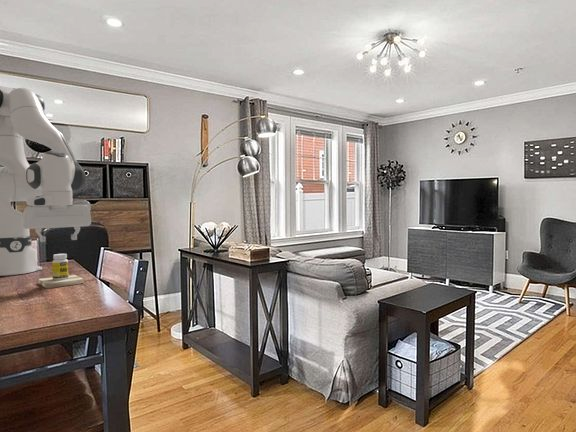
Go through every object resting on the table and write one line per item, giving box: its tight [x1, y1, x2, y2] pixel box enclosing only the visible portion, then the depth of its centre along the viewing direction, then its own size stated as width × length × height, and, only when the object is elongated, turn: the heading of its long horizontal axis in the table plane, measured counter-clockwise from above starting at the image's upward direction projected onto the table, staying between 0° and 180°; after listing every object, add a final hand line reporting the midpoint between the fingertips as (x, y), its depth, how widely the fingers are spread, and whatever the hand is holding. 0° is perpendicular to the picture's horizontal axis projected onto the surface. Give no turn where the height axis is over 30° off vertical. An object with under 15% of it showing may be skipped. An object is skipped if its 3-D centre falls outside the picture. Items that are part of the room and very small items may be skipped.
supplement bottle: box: [51, 253, 69, 280], centre depth 134 cm, size 5×5×8 cm
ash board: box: [37, 273, 85, 290], centre depth 134 cm, size 12×11×2 cm
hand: (58, 240), depth 134 cm, fingers open, 8 cm apart
